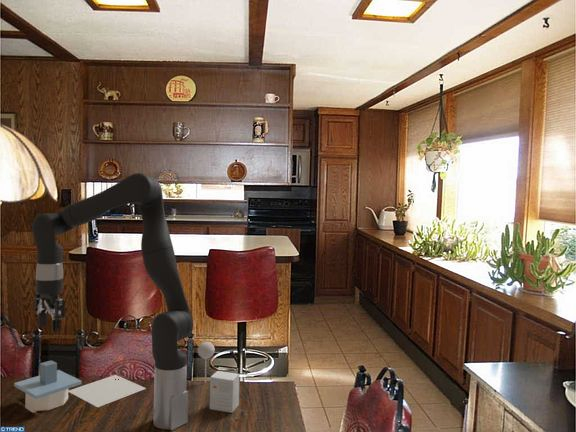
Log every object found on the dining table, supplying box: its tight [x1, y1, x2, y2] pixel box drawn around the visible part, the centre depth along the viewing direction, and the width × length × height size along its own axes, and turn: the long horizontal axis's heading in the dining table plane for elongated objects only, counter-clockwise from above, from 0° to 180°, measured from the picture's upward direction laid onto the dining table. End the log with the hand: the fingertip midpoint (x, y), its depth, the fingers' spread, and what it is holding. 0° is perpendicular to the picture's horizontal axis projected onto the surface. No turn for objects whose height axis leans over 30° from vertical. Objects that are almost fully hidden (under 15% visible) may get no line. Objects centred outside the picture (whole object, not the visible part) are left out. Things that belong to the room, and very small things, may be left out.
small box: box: [209, 370, 240, 414], centre depth 143 cm, size 8×6×10 cm
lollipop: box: [197, 341, 216, 384], centre depth 161 cm, size 6×6×15 cm
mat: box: [68, 374, 147, 408], centre depth 151 cm, size 18×18×1 cm
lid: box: [13, 360, 83, 399], centre depth 141 cm, size 14×14×7 cm
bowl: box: [24, 388, 69, 414], centre depth 141 cm, size 11×11×6 cm
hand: (49, 328), depth 140 cm, fingers open, 8 cm apart
